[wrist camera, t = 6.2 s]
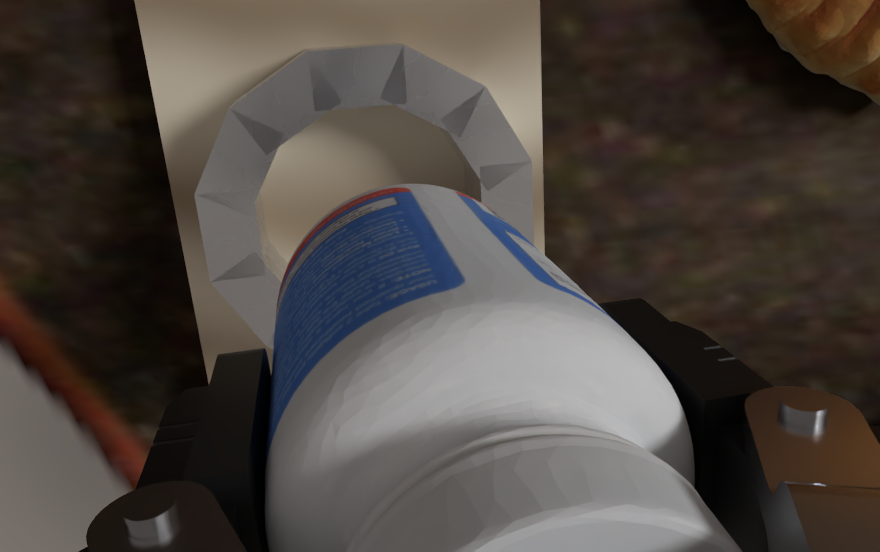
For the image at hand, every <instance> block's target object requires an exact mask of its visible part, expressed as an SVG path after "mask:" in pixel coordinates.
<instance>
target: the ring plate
mask: <svg viewBox="0 0 880 552" xmlns="http://www.w3.org/2000/svg"><path fill="white" fill-rule="evenodd" d="M134 1H135V6H136V12H137V17H138V22H139V27H140V32H141V37H142V42H143V48H144V53H145V58H146V63H147V68H148V73H149V79H150V84H151V89H152V94H153V99H154V104H155V110H156V115H157V120H158V125H159V130H160V135H161V140H162V146H163V151H164V156H165V161H166V166H167V171H168V177H169V182H170V187H171V192H172V197H173V202H174V207H175V213H176V218H177V223H178V228H179V233H180V238H181V244H182V249H183V254H184V259H185V264H186V269H187V275H188V280H189V285H190V290H191V295H192V300H193V305H194V311H195V316H196V321H197V326H198V331H199V336H200V342H201V347H202V352H203V357H204V362H205V367H206V373H207V378H208V383H210V380H211V376H212V373H213V369H214V365H215V362H216V358H217V355H218V354H223V353H231V352H238V351H246V350H253V349H261V348H265V349H266V352H267V356H268V360H269V365H270V371H271V373H272V362H273V349H271V348H269V347H268V346H266V345H265V344H264V343H263V342H262V341H261V339H260V338H259V337H258V336H257V335H256V334H255V333H254V331H253V330H252V329H251V328H250V327H249V326H248V325H247V323H246V322H245V321H244V320H243V319H242V318H241V317H240V316H239V314H238V313H237V312H236V311H235V310H234V309H233V308H232V306H231V305H230V304H229V303H228V302H227V301H226V300H225V299H224V297H223V296H222V295H221V294H220V293H219V292H218V291H217V289H216V288H215V287H214V286H213V285H212V284H211V282H210V278H209V273H208V267H207V262H206V256H205V251H204V245H203V240H202V235H201V229H200V224H199V218H198V213H197V207H196V202H195V196H194V195H195V191H196V189H197V186H198V184H199V181H200V179H201V176H202V174H203V171H204V169H205V166H206V164H207V161H208V159H209V156H210V154H211V151H212V149H213V146H214V144H215V141H216V139H217V136H218V134H219V131H220V129H221V126H222V124H223V121H224V119H225V116H226V114H227V111H228V109H229V107H230V106H231V105H232V104H233V103H234V102H235V101H236V100H237V99H238V98H239V97H241V96H242V95H244V94H245V93H246V92H248V91H249V90H250V89H252V88H253V87H255V86H256V85H257V84H259V83H260V82H261V81H263V80H264V79H266V78H267V77H268V76H270V75H271V74H273V73H274V72H275V71H277V70H278V69H279V68H281V67H282V66H284V65H285V64H286V63H288V62H289V61H290V60H292V59H293V58H295V57H296V56H297V55H299V54H300V53H301V52H303V51H304V50H306V49H307V48H320V47H333V46H346V45H360V44H373V43H387V42H395V43H400V44H404V45H406V46H408V47H410V48H412V49H414V50H416V51H418V52H420V53H422V54H424V55H426V56H428V57H429V58H431V59H433V60H435V61H437V62H439V63H441V64H443V65H445V66H447V67H449V68H451V69H453V70H455V71H457V72H459V73H461V74H463V75H465V76H467V77H469V78H471V79H473V80H475V81H477V82H479V83H480V84H482V85H484V86H486V87H487V89H488V91H489V92H490V94H491V95H492V97H493V99H494V100H495V102H496V103H497V105H498V107H499V108H500V110H501V111H502V113H503V115H504V116H505V118H506V120H507V121H508V123H509V124H510V126H511V128H512V129H513V131H514V132H515V134H516V136H517V137H518V139H519V140H520V142H521V144H522V145H523V147H524V149H525V150H526V152H527V153H528V155H529V157H530V158H531V160H532V177H533V220H534V244H533V245H534V246H535V247H536V248H537V249H538V250H539V251H540V252H542V253H543V254H544V255H545V251H544V197H543V144H542V90H541V37H540V0H134ZM399 184H429V185H435V186H440V187H444V188H448V189H452V190H455V191H458V192H461V193H463V194H465V179H464V165H463V163H462V162H461V160H460V159H459V157H458V156H457V154H456V153H455V151H454V150H453V148H452V147H451V145H450V144H449V142H448V141H447V139H446V138H445V136H444V135H443V133H442V132H441V130H440V129H439V127H438V126H436V125H434V124H432V123H430V122H428V121H426V120H424V119H422V118H420V117H418V116H415V115H413V114H411V113H409V112H407V111H405V110H403V109H401V108H399V107H397V106H395V105H383V106H371V107H360V108H348V109H336V110H329V111H328V112H326V113H325V114H324V115H322V116H321V117H319V118H318V119H317V120H315V121H314V122H313V123H311V124H310V125H308V126H307V127H306V128H304V129H303V130H301V131H300V132H299V133H297V134H296V135H294V136H293V137H292V138H290V139H289V140H287V141H286V142H285V143H283V144H282V145H281V146H279V147H278V149H277V152H276V154H275V156H274V159H273V161H272V164H271V166H270V168H269V171H268V173H267V175H266V178H265V180H264V183H263V185H262V187H261V195H262V202H263V209H264V215H265V222H266V228H267V235H268V239H269V241H270V242H271V243H272V244H273V245H274V247H275V248H276V249H277V250H278V252H279V253H280V254H281V255H282V256H283V258H284V259H285V260H286V261H287V263H289V261H290V259H291V257H292V255H293V253H294V252H295V250H296V248H297V247H298V246H299V244H300V243H301V241H302V240H303V238H304V237H305V236H306V234H307V233H308V232H309V231H310V230H311V229H312V228H313V227H314V225H315V224H316V223H317V222H318V221H320V220H321V219H322V218H323V217H324V216H325V215H326V214H328V213H329V212H330V211H331V210H333V209H334V208H336V207H337V206H339V205H341V204H342V203H344V202H345V201H347V200H349V199H351V198H353V197H355V196H357V195H360V194H362V193H365V192H367V191H370V190H373V189H377V188H381V187H385V186H391V185H399Z"/></svg>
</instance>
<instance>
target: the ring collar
mask: <svg viewBox="0 0 880 552" xmlns="http://www.w3.org/2000/svg"><path fill="white" fill-rule="evenodd" d="M383 105H395V106H397V107H399V108H401V109H403V110H405V111H407V112H409V113H411V114H413V115H415V116H418V117H420V118H422V119H424V120H426V121H428V122H430V123H432V124H434V125H436V126H438V127H439V129H440V130H441V132H442V133H443V135H444V136H445V138H446V139H447V141H448V142H449V144H450V145H451V147H452V148H453V150H454V151H455V153H456V154H457V156H458V157H459V159H460V160H461V162H462V163H463V165H464V179H465V195H468V196H470V197H472V198H474V199H476V200H478V201H479V202H481V203H483V204H485V205H486V206H488V207H489V208H491V209H492V210H494V211H495V212H497V213H498V214H499V215H500V216H501V217H503V218H504V219H505V220H506V221H507V222H508V223H510V224H511V225H512V226H513V227H514V228H516V229H517V230H518V231H519V232H520V233H521V234H522V235H523V236H524V237H525V238H526V239H527V240H528V241H529V242H530V243H531V244H532V245H533V244H534V220H533V177H532V160H531V158H530V157H529V155H528V153H527V152H526V150H525V149H524V147H523V145H522V144H521V142H520V140H519V139H518V137H517V136H516V134H515V132H514V131H513V129H512V128H511V126H510V124H509V123H508V121H507V120H506V118H505V116H504V115H503V113H502V111H501V110H500V108H499V107H498V105H497V103H496V102H495V100H494V99H493V97H492V95H491V94H490V92H489V91H488V89H487V87H486V86H484V85H482V84H480V83H479V82H477V81H475V80H473V79H471V78H469V77H467V76H465V75H463V74H461V73H459V72H457V71H455V70H453V69H451V68H449V67H447V66H445V65H443V64H441V63H439V62H437V61H435V60H433V59H431V58H429V57H428V56H426V55H424V54H422V53H420V52H418V51H416V50H414V49H412V48H410V47H408V46H406V45H404V44H400V43H395V42H387V43H373V44H360V45H346V46H333V47H320V48H307V49H306V50H304V51H303V52H301V53H300V54H299V55H297V56H296V57H295V58H293V59H292V60H290V61H289V62H288V63H286V64H285V65H284V66H282V67H281V68H279V69H278V70H277V71H275V72H274V73H273V74H271V75H270V76H268V77H267V78H266V79H264V80H263V81H261V82H260V83H259V84H257V85H256V86H255V87H253V88H252V89H250V90H249V91H248V92H246V93H245V94H244V95H242V96H241V97H239V98H238V99H237V100H236V101H235V102H234V103H233V104H232V105H231V106H230V107H229V109H228V111H227V114H226V116H225V119H224V121H223V124H222V126H221V129H220V131H219V134H218V136H217V139H216V141H215V144H214V146H213V149H212V151H211V154H210V156H209V159H208V161H207V164H206V166H205V169H204V171H203V174H202V176H201V179H200V181H199V184H198V186H197V189H196V191H195V195H194V196H195V202H196V207H197V213H198V218H199V224H200V229H201V235H202V240H203V245H204V251H205V256H206V262H207V267H208V273H209V278H210V282H211V284H212V285H213V286H214V287H215V288H216V289H217V291H218V292H219V293H220V294H221V295H222V296H223V297H224V299H225V300H226V301H227V302H228V303H229V304H230V305H231V306H232V308H233V309H234V310H235V311H236V312H237V313H238V314H239V316H240V317H241V318H242V319H243V320H244V321H245V322H246V323H247V325H248V326H249V327H250V328H251V329H252V330H253V331H254V333H255V334H256V335H257V336H258V337H259V338H260V339H261V341H262V342H263V343H264V344H265V345H266V346H268V347H269V348H271V349H273V348H274V347H273V343H274V333H275V320H276V308H277V300H278V295H279V290H280V287H281V283H282V279H283V276H284V273H285V270H286V268H287V266H288V263H287V261H286V260H285V259H284V258H283V256H282V255H281V254H280V253H279V252H278V250H277V249H276V248H275V247H274V245H273V244H272V243H271V242H270V241H269V239H268V235H267V228H266V222H265V215H264V209H263V202H262V195H261V187H262V185H263V183H264V180H265V178H266V175H267V173H268V171H269V168H270V166H271V164H272V161H273V159H274V156H275V154H276V152H277V149H278V147H279V146H281V145H282V144H283V143H285V142H286V141H287V140H289V139H290V138H292V137H293V136H294V135H296V134H297V133H299V132H300V131H301V130H303V129H304V128H306V127H307V126H308V125H310V124H311V123H313V122H314V121H315V120H317V119H318V118H319V117H321V116H322V115H324V114H325V113H326V112H328V111H329V110H336V109H348V108H360V107H371V106H383Z"/></svg>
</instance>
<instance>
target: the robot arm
mask: <svg viewBox="0 0 880 552" xmlns="http://www.w3.org/2000/svg"><path fill="white" fill-rule="evenodd" d="M598 305H599V306H600V307H601V308H602V309H603V310H604V311H605V312H606V313H607V314H608V315H609V316H610V317H611V318H612V319H613V320H614V321H615V322H616V323H618V324H619V325H620V326H621V327H622V328H623V329H624V330H625V331H626V332H627V333H628V334H629V335H630V336H631V337H632V338H633V339H634V340H635V341H636V342H637V343H638V344H639V345H640V346H641V347H642V348H643V349H644V350H645V351H646V353H647V354H648V355H649V356H650V357H651V358H652V359H653V361H654V362H655V363H656V364H657V365H658V367H659V368H660V370H661V371H662V372H663V374H664V375H665V377H666V378H667V380H668V381H669V382H670V384H671V385H672V387H673V389H674V391H675V393H676V395H677V397H678V399H679V401H680V404H681V406H682V408H683V410H684V413H685V416H686V420H687V423H688V426H689V430H690V434H691V439H692V445H693V452H694V466H695V486H694V489H695V490H696V491H697V492H698V494H699V496H700V497H701V499H702V500H703V501H704V503H705V504H706V506H707V507H708V508H709V509H710V511H711V512H712V513H713V514H714V515H715V517H716V518H717V519H718V521H719V522H720V523H721V525H722V526H723V527H724V528H725V530H726V531H727V532H728V534H729V535H730V536H731V537H732V539H733V540H734V541H735V543H736V544H737V545H738V546H739V548H740V549H741V550H742V552H880V426H871V425H868V424H867V422H866V420H865V419H864V417H863V415H862V414H861V413H860V411H859V410H858V409H857V408H856V407H854V406H853V405H852V404H850V403H849V402H847V401H845V400H843V399H841V398H839V397H837V396H834V395H832V394H829V393H826V392H823V391H819V390H814V389H810V388H803V387H792V386H781V387H774V386H772V385H771V384H770V383H768V382H767V381H766V380H764V379H763V378H762V377H761V376H759V375H758V374H757V373H755V372H754V371H753V370H751V369H750V368H749V367H748V366H746V365H745V364H744V363H742V362H741V361H740V360H735V356H733V355H732V354H731V353H729V352H728V351H727V350H725V349H724V348H720V345H719V344H718V343H716V342H715V341H714V340H712V339H711V338H710V337H709V336H707V335H706V334H705V333H703V332H702V331H700V330H697V329H694V328H692V327H689V326H686V325H684V324H681V323H679V322H676V321H673V322H670V321H669V320H668V319H667V318H665V317H664V316H663V315H662V314H660V313H659V312H658V311H657V310H656V309H654V308H653V307H652V306H651V305H649V304H648V303H647V302H646V301H644V300H643V299H641V298H638V299H630V300H623V301H615V302H608V303H600V304H598ZM270 387H271V371H270V365H269V360H268V356H267V352H266V349H265V348H261V349H253V350H246V351H238V352H231V353H223V354H218V355H217V358H216V362H215V365H214V369H213V373H212V376H211V380H210V383H209V386H203V387H196V388H189V389H186V390H184V391H183V392H182V393H181V394H180V395H179V396H178V397H177V398H176V399H175V400H174V401H172V402H171V403H170V404H169V405H168V406H167V407H166V409H165V412H164V415H163V417H162V420H161V423H160V425H159V428H160V430H158V431H157V433H156V436H155V439H154V441H153V443H154V446H152V447H151V449H150V452H149V455H148V457H147V460H146V463H145V465H144V468H143V471H142V473H141V476H140V479H139V481H138V484H137V487H136V489H135V490H134V491H132V492H129V493H127V494H125V495H123V496H122V497H120V498H118V499H116V500H115V501H113V502H112V503H110V504H109V505H108V506H107V507H105V508H104V509H103V510H102V511H101V512H100V513H99V514H98V515H97V516H96V517H95V519H94V520H93V521H92V522H91V524H90V526H89V528H88V531H87V535H86V539H87V545H88V547H86V548H85V549H83V550H81V551H79V552H269V548H268V542H267V536H266V530H265V488H264V478H265V463H266V447H267V432H268V419H269V397H270Z"/></svg>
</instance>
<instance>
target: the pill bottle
mask: <svg viewBox="0 0 880 552" xmlns="http://www.w3.org/2000/svg"><path fill="white" fill-rule="evenodd" d="M273 347H274V348H273V362H272V373H271V387H270V397H269V419H268V432H267V447H266V463H265V478H264V488H265V530H266V536H267V542H268V548H269V552H742V550H741V549H740V548H739V546H738V545H737V544H736V543H735V541H734V540H733V539H732V537H731V536H730V535H729V534H728V532H727V531H726V530H725V528H724V527H723V526H722V525H721V523H720V522H719V521H718V519H717V518H716V517H715V515H714V514H713V513H712V512H711V511H710V509H709V508H708V507H707V506H706V504H705V503H704V501H703V500H702V499H701V497H700V496H699V494H698V492H697V491H696V490H695V489H694V486H695V466H694V452H693V445H692V439H691V434H690V430H689V426H688V423H687V420H686V416H685V413H684V410H683V408H682V406H681V404H680V401H679V399H678V397H677V395H676V393H675V391H674V389H673V387H672V385H671V384H670V382H669V381H668V380H667V378H666V377H665V375H664V374H663V372H662V371H661V370H660V368H659V367H658V365H657V364H656V363H655V362H654V361H653V359H652V358H651V357H650V356H649V355H648V354H647V353H646V351H645V350H644V349H643V348H642V347H641V346H640V345H639V344H638V343H637V342H636V341H635V340H634V339H633V338H632V337H631V336H630V335H629V334H628V333H627V332H626V331H625V330H624V329H623V328H622V327H621V326H620V325H619V324H618V323H616V322H615V321H614V320H613V319H612V318H611V317H610V316H609V315H608V314H607V313H606V312H605V311H604V310H603V309H602V308H601V307H600V306H599V305H598V304H597V303H596V302H594V301H593V300H592V299H591V298H590V297H589V296H588V295H587V294H586V293H584V292H583V291H582V290H581V289H580V288H579V287H578V286H577V284H575V283H574V282H573V281H572V280H571V279H570V278H569V277H568V276H567V275H566V274H565V273H564V272H562V271H561V270H560V269H559V268H558V267H557V266H556V265H555V264H554V263H553V262H552V261H551V260H550V259H548V258H547V257H546V256H545V255H544V254H543V253H542V252H540V251H539V250H538V249H537V248H536V247H535V246H534V245H532V244H531V243H530V242H529V241H528V240H527V239H526V238H525V237H524V236H523V235H522V234H521V233H520V232H519V231H518V230H517V229H516V228H514V227H513V226H512V225H511V224H510V223H508V222H507V221H506V220H505V219H504V218H503V217H501V216H500V215H499V214H498V213H497V212H495V211H494V210H492V209H491V208H489V207H488V206H486V205H485V204H483V203H481V202H479V201H478V200H476V199H474V198H472V197H470V196H468V195H465V194H463V193H461V192H458V191H455V190H452V189H448V188H444V187H440V186H435V185H429V184H399V185H391V186H385V187H381V188H377V189H373V190H370V191H367V192H365V193H362V194H360V195H357V196H355V197H353V198H351V199H349V200H347V201H345V202H344V203H342V204H341V205H339V206H337V207H336V208H334V209H333V210H331V211H330V212H329V213H328V214H326V215H325V216H324V217H323V218H322V219H321V220H320V221H318V222H317V223H316V224H315V225H314V227H313V228H312V229H311V230H310V231H309V232H308V233H307V234H306V236H305V237H304V238H303V240H302V241H301V243H300V244H299V246H298V247H297V248H296V250H295V252H294V253H293V255H292V257H291V259H290V261H289V263H288V266H287V268H286V270H285V273H284V276H283V279H282V283H281V287H280V290H279V295H278V300H277V308H276V320H275V333H274V343H273Z"/></svg>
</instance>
